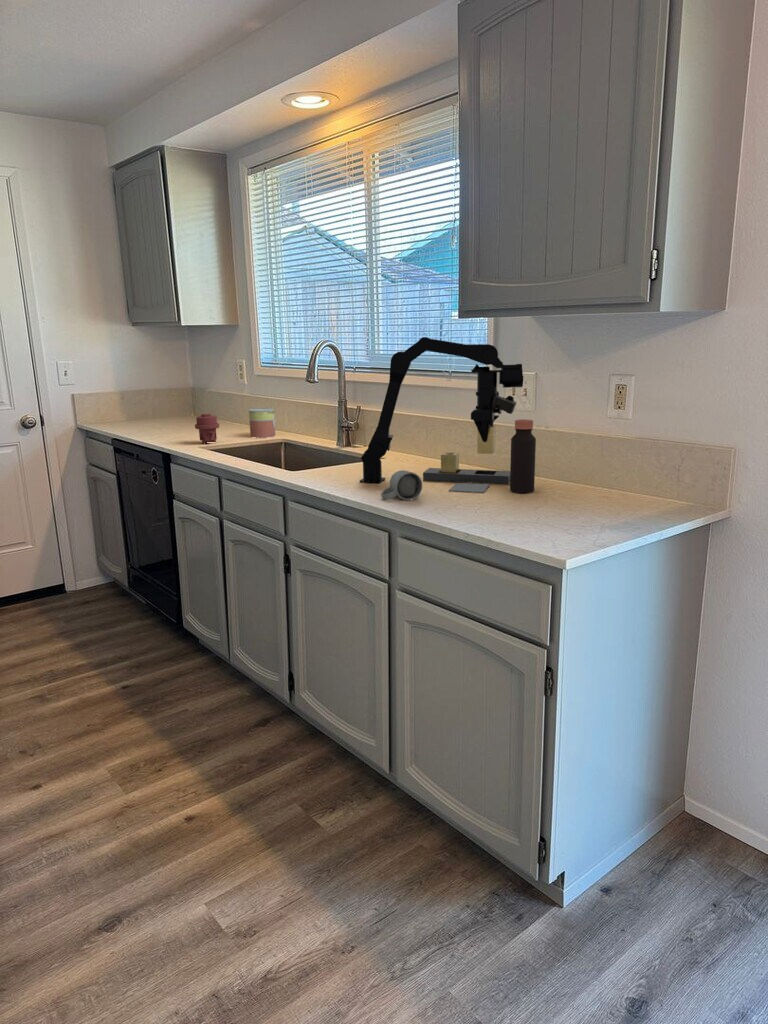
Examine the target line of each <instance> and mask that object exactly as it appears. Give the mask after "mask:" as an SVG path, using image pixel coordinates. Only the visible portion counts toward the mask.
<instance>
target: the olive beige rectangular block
mask: <svg viewBox="0 0 768 1024" xmlns="http://www.w3.org/2000/svg"><path fill="white" fill-rule="evenodd" d="M496 429H497V428H496V424H493V425H490V427H489V433H488V438H487V442H483V441H482V438H481V436H480V433H479V431H478V430H477V444H476V445H477V448H476V451H477V452H476V453H477V454H479V455H480V454H481V455H482V454H483V455H486V454H487V455H493V454H494V453H496Z"/></svg>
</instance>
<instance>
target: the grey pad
mask: <svg viewBox="0 0 768 1024" xmlns="http://www.w3.org/2000/svg"><path fill="white" fill-rule="evenodd" d="M490 485H491V484H485V483H463V482H455V484H453V486H452V487H451V488H449V489H448V492H450V491H457V492H456V493H470V492H475V494H485V492H486V491H487V490H488V489H489V487H490ZM487 488H488V489H487Z"/></svg>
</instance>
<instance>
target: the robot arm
mask: <svg viewBox="0 0 768 1024" xmlns="http://www.w3.org/2000/svg"><path fill="white" fill-rule="evenodd" d="M425 352H433V353H438V354H444V355H451V356H456V357H461V358H462V357H463V358H465V359H470V360H472V361H473V362H474V361H475V362H477V363H480V364H482V365H486V366H480V365H479V364H477V363H476V364H475V366H474V367H473V368H472V369H470V370H471V371H470V372H471V373H472V374H475V373H476V374H477V375H476V376H477V377H476V378H477V382H476V383H477V386H476V387H477V389H476V391H475V396H476V406H475V408H474V409H473V410H472V412H470V421H471V420H472V421H473V422H474V424H475V426H476V429H477V432H478V431H479V433H480V436H481V438H482V441H483V442H487V438H488V433H489V427H490V425H494V423H495V421H496V420H497V419H498V418H499V417H500V415H501V414H502V411H503V412H505V413H507V414H510V415H512V414H513V413H514V410H515V408H516V407H517V402H516V401H515V397H514V396H512V395H508V396H507V397H506V398H505V397H504V396H499V395H500V391H499V390H498V388H497V387H498V385H502V388H503V389H504V388H505V389H507V388H509V389H510V388H523V386H524V372H523V364H522V363H515V364H504V362H503V361H501V359H500V358H499V352H498V349H497V348H496V346H494V345H491V344H489V343H488V344H487V343H484V344H483V343H481V344H479V343H478V344H477V343H476V344H466V343H465V344H464V343H459V342H453V341H447V340H442V339H436V338H435V339H434V338H429V337H427V336H424V337H421V338H419V340H417V342H415V343H413V345H411V346H409V347H408V348H407V349H406V350H404V351H402V350H401V351H397V352H396V353H393V355H392V356H391V359H390V365H389V381H388V386H387V388H386V393H385V397H384V401H383V405H382V408H381V412H380V416H379V419H378V423H377V426H376V428H375V431H374V433H373V435H372V437H371V439H370V441H369V443H368V445H367V449H366V450H365V451H364V452H363V454H362V455H361V457H360V459H361V461H362V478H361V479H359V483H368V484H372V483H373V484H380V483H382V482H383V481H384V480H386V477H383V476H382V471H383V470H382V466H383V465H382V460H381V459H382V458H383V457H385V455H386V454H387V451H388V452H389V451H390V450H391V448H392V447H391V442H392V440H393V438H394V434H390V427H391V425H392V422H393V421H392V420H393V417H394V414H395V413H394V412H395V409H396V406H397V402H398V398H399V394H400V392H401V391H400V390H401V387H402V384H403V382H404V380H405V377H406V376H407V374H408V371H409V369H410V367H411V365H412V362H413V361H414V360H416V359H417V358H419V356H421V355H422V354H424V353H425ZM488 365H489V366H488ZM490 366H493V367H494V368H496V369H490ZM495 414H496V415H495ZM497 414H498V415H497Z"/></svg>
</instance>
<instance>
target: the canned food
mask: <svg viewBox="0 0 768 1024" xmlns="http://www.w3.org/2000/svg"><path fill="white" fill-rule="evenodd" d="M248 415H249V416H248V419H249V431H250V436H251V437H258V438H257V439H268V438H267V437H271V438H275V437H276V436H277V435H276V422H275V419H276V418H275V417H276V416H275V408H251V409H248ZM275 435H276V436H275ZM274 436H275V437H274ZM251 437H250V438H251Z"/></svg>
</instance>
